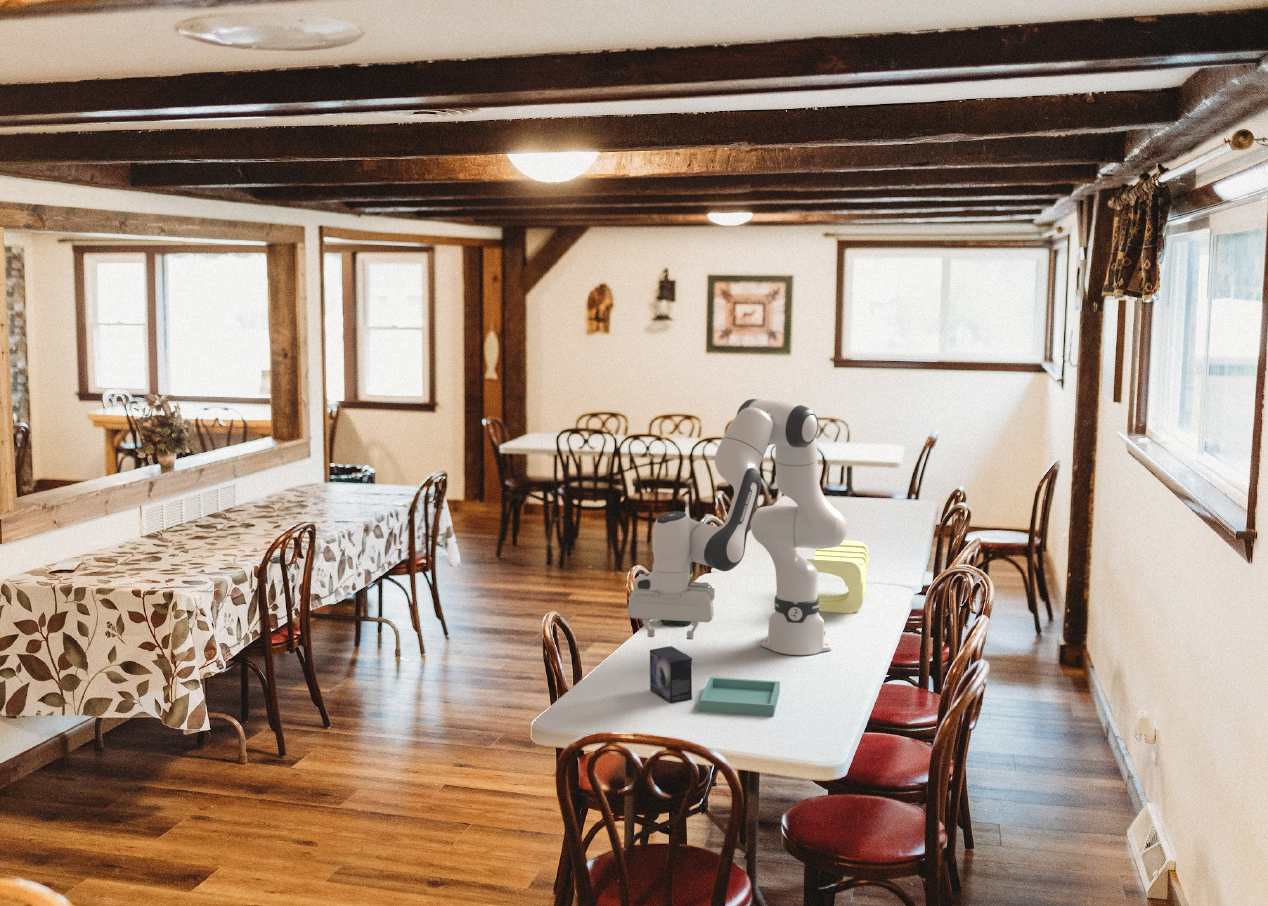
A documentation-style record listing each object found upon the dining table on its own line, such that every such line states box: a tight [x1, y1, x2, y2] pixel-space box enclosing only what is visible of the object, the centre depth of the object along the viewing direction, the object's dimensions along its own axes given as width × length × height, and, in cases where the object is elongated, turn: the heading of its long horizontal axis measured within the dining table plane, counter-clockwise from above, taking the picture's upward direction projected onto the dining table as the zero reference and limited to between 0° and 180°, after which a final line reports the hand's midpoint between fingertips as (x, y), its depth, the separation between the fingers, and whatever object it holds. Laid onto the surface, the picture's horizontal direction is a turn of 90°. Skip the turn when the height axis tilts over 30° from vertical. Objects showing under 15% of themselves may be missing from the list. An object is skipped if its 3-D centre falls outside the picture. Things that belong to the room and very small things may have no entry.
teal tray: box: [699, 676, 781, 717], centre depth 276 cm, size 17×17×3 cm
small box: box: [649, 645, 693, 704], centre depth 279 cm, size 11×6×10 cm, turn 27°
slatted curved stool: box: [806, 539, 869, 614], centre depth 359 cm, size 30×16×18 cm, turn 165°
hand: (670, 637), depth 278 cm, fingers open, 8 cm apart
